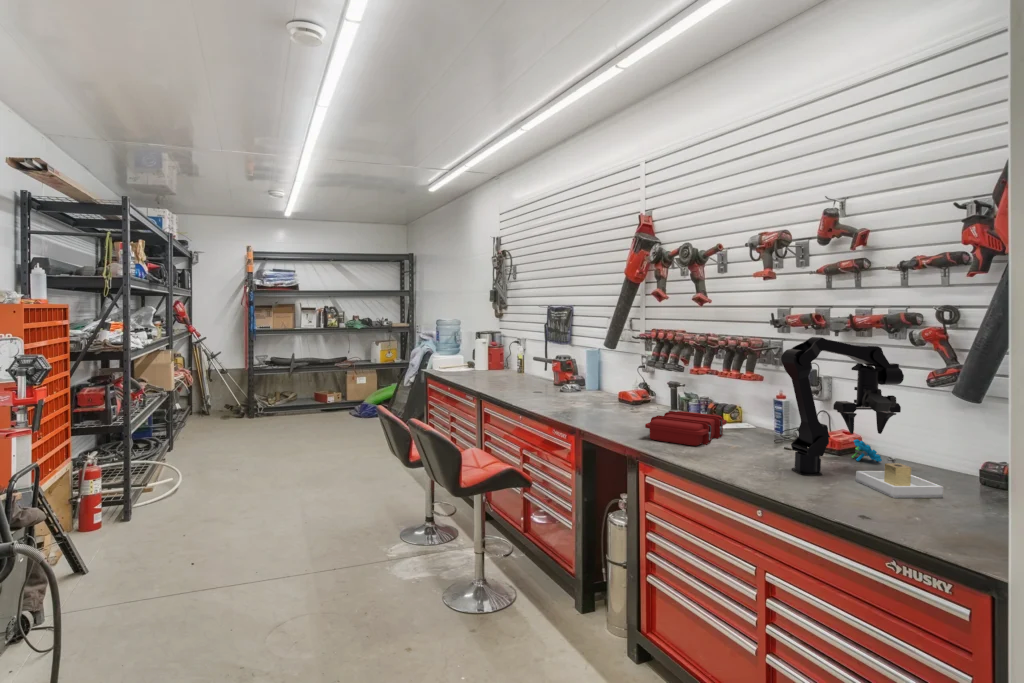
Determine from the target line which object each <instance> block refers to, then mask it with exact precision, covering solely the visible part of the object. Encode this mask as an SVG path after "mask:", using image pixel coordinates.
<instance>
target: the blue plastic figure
mask: <svg viewBox="0 0 1024 683" xmlns="http://www.w3.org/2000/svg"><path fill="white" fill-rule="evenodd" d="M852 442H853V443H854V446H855V448H854V450H855V451H854V452H855V453H854V454H852V455H851V459H854V458H855V460H856V461H857V462H860V461H861V460H862V459H863V458H864V457H868V456H869V458H870V460H872V461H875V462H876V463H881V462H882V460H883V459H882V456H881V455H880V454H877V453H878V452H877V451H876V450H875V449H872V448H871V446H870V445H869V444H866V443H865V441H863V440H860V439H858V438H856V439H854V440H853V441H852ZM857 455H858V457H857V458H856V456H857Z"/></svg>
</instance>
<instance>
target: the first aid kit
mask: <svg viewBox="0 0 1024 683" xmlns="http://www.w3.org/2000/svg"><path fill="white" fill-rule="evenodd" d="M727 422H728V421H727V419H723V417H722V416H721V415H719V414H718V415H717V414H710V413H709V414H708V413H699V412H691V411H682V410H678V411H673V410H669V411H667V412H665V413H664V414H663V415H656V416H652V417H651V418H650V420H649V422H648V423H644V426H645V428H646V429H649V439H651V440H653V441H657V442H658V441H660V442H666V443H673V444H680V445H686V446H695V447H696V446H699V445H704V446H706V445H708V444H711V442H712V439H715V440H716V439H717V440H718V439H719V438H722V437H723V433H724V432H723V431H724V430H723V429H724V426H725V425H727Z"/></svg>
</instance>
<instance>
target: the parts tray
mask: <svg viewBox="0 0 1024 683" xmlns="http://www.w3.org/2000/svg"><path fill="white" fill-rule="evenodd" d="M884 474H885V470H856V472H855V482H857V483H859V484H862V485H863V486H867V487H868V488H871V489H873V490H874V491H877V492H879V493H882V494H883V495H886V496H888V497H891V498H893V499H926V498H927V499H935V498H936V499H939V498H940V499H942V498H944V486H942V485H939V484H936V483H934V482H932V481H929V480H926V479H924V478H921V477H918V476H915V475H913V474H911V485H910V486H894V485H891V484H889V483H886V482H884Z"/></svg>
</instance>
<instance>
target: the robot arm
mask: <svg viewBox="0 0 1024 683" xmlns="http://www.w3.org/2000/svg"><path fill="white" fill-rule="evenodd" d="M822 352H826V353H831V354H836V355H841V356H845V357H847V358H850V360H853V361H855V362H856V364H855V365H854V366H852V367H851V368H850V370H851V371H857V378H856V379H857V380H856V382H857V384H856V386H854V391H856V399H853V402H852V401H847V400H836V401H835V402H834V403H833V405H832V406H833V407H832V409H833V410H834V411H836V412H837V413H839V414H840V415H841V417H842V419H843V420H844V422H845V424H846V425H845V426H846V427H847V429H848V432H849V433H850V434H851V435H853V434H854V431H855V418H856V417H857V413H856V411H857V410H861V411H862V410H869V411H871V410H872V411H874V412H875V417H876V418H875V419H876V429H877V430H876V431H877V433H878V434H880V435H881V434H882V433H883V431H884V429H885V427H886V424H887V423H888V421H889V420H890V418H891V417H893V416H896V415H897V413H901V410H902V406H901V405H900V403H899V402H897V397H896V396H895V395H885V396H884V395H882V392H883V390H882V389H881V388H879V385H880V386H885V385H886V386H888V385H889V386H891V385H892V386H893V385H901V384H902V383H903V381H904V379H905V375H904V373H903V370H902V369H901V368H900V367H899V366H900V364H899V363H896V362H895V363H890V362H889V361H888V359H887V358H886V356H885V354H884V352H883V348H881V347H880V346H878V345H866V344H849V343H846V342H841V341H836V340H832V339H827V338H824V337H819V336H811V337H809V338H808V339H806V340H805V341H803V342H801V343H798V344H796V345H795V346H793V347H791V348H790V349H785V351H784V352H783V353H782V354H781V356H780V361H781V363H782V365H783V366H782V367H783V369H784V371H785V372H786V374H788V376H789V377H790V379H791V382H792V387H793V391H794V396H795V400H796V404H797V408H798V409H797V410H798V413H799V418H800V424H799V427H798V429H797V430H798V431H797V432H798V437H796V438H795V440H793V441H792V442H791V444H790V447H791V449H792V451H793V452H795V453H794V467H792V468H791V470H792V471H794V472H795V473H797V474H800V475H802V476H823V473H822V472H821V470H822V468H821V467H822V458H821V457H824V455H825V452H826V449H827V447H828V445H829V444H830V438H831V436H830V434H829V427H828V425H827V424H824V423H821V422H820V420H819V418H818V413H817V409H816V405H815V399H814V395H813V389H812V385H811V381H810V373H811V371H812V368H813V367H812V362H813V361H814V360H816V359H817V358H818V357H819V355H820V353H822ZM864 364H865V365H864Z"/></svg>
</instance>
